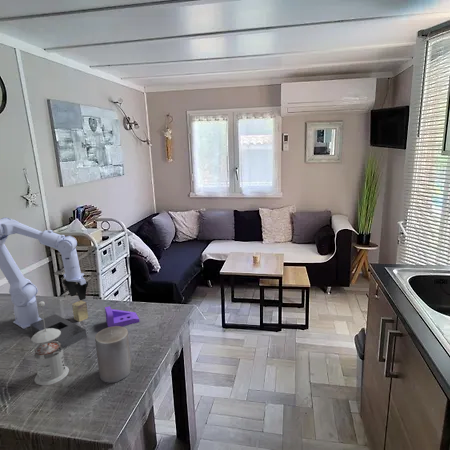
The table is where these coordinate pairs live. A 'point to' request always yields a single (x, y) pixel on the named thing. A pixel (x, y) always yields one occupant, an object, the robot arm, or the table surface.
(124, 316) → the bracket
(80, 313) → the brass peg
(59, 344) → the french press
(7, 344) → the table surface
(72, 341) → the dark grey slotted block
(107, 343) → the pillar candle
